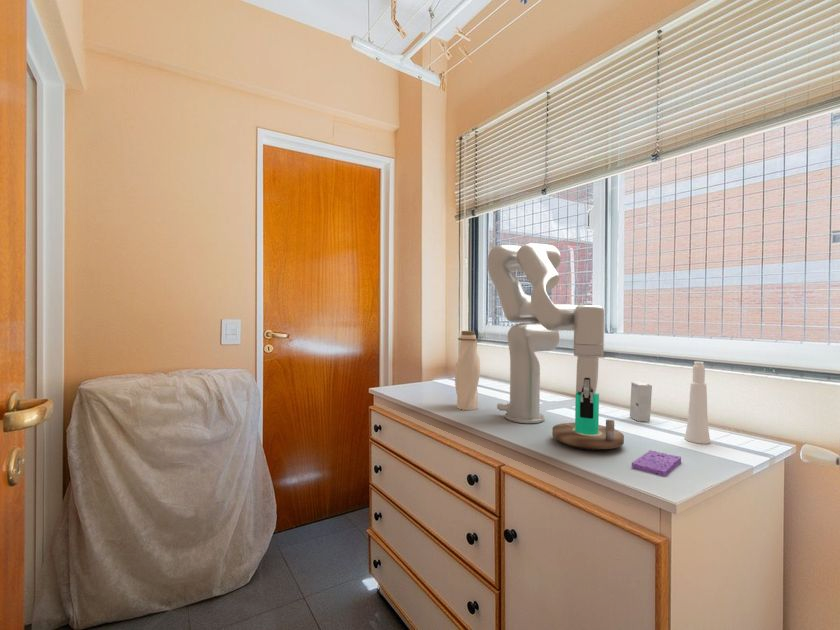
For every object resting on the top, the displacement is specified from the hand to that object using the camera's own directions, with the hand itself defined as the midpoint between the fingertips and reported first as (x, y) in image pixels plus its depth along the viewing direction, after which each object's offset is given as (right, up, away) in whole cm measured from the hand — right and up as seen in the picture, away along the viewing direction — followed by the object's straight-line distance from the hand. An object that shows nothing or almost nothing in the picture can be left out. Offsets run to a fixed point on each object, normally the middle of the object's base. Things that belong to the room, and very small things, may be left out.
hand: (587, 413), depth 114 cm
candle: (0, -5, 0) cm, 5 cm away
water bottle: (-28, -7, +40) cm, 50 cm away
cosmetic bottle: (+32, -9, +3) cm, 33 cm away
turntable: (0, -7, 0) cm, 7 cm away
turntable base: (0, -8, 0) cm, 8 cm away
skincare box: (+28, -8, +25) cm, 38 cm away
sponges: (+10, -9, -15) cm, 21 cm away
